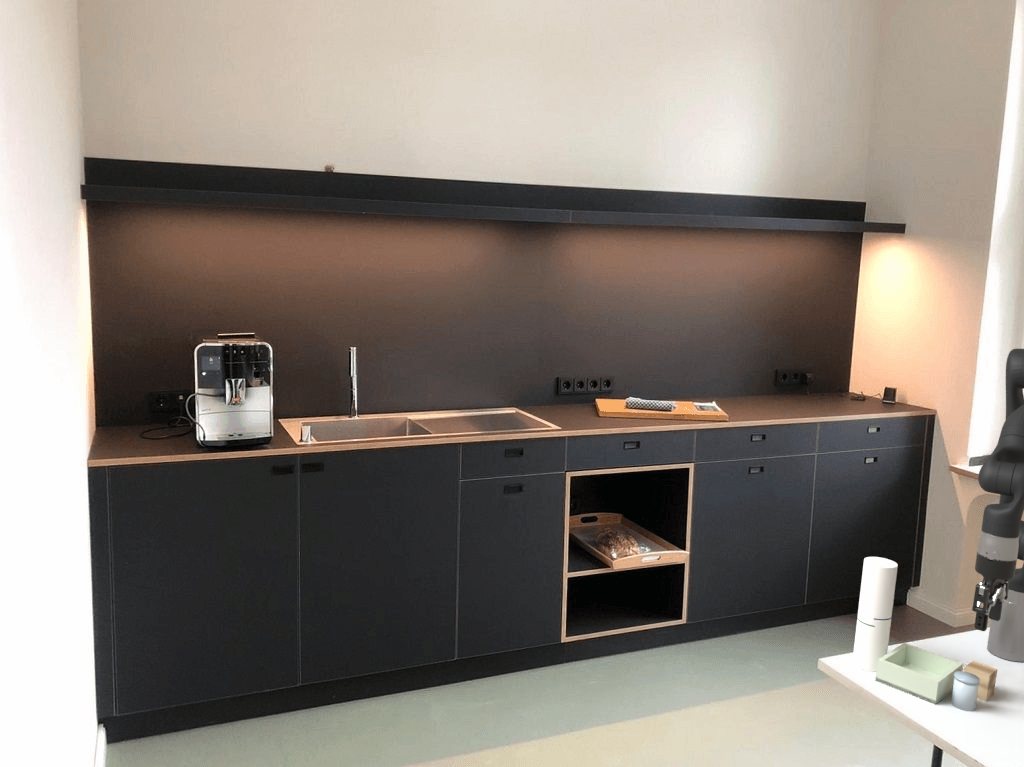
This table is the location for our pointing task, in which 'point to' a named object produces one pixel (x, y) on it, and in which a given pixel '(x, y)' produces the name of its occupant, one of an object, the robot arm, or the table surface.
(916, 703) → the table surface
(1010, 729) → the table surface
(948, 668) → the crate
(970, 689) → the ceramic jar
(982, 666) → the oak block
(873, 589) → the cylindrical container
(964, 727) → the table surface
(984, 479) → the robot arm
